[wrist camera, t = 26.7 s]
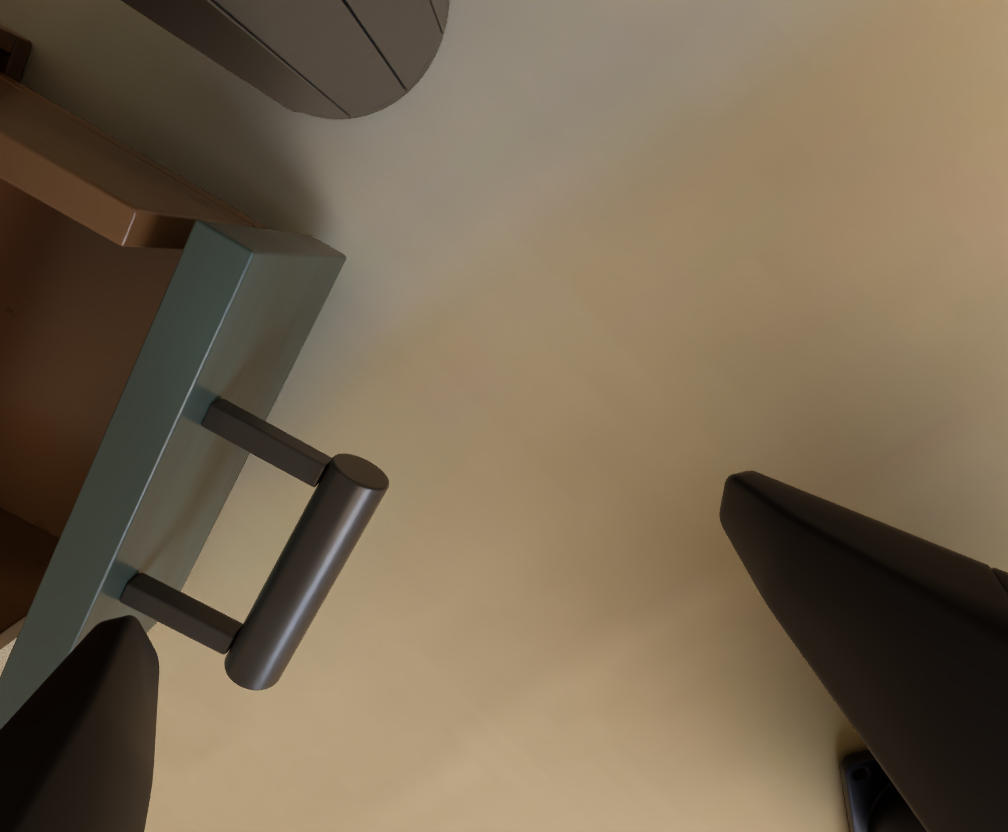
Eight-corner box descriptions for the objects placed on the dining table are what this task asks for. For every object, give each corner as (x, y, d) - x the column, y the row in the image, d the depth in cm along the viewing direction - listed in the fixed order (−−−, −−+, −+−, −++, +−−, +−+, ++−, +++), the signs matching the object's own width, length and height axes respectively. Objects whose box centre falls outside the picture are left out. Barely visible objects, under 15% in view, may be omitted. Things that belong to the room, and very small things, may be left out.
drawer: (479, 333, 17) (454, 367, 12) (288, 666, 20) (192, 829, 14) (-69, 12, 16) (-414, -134, 10) (-190, 422, 19) (-511, 493, 13)
